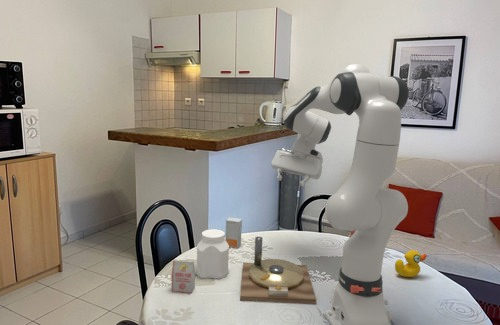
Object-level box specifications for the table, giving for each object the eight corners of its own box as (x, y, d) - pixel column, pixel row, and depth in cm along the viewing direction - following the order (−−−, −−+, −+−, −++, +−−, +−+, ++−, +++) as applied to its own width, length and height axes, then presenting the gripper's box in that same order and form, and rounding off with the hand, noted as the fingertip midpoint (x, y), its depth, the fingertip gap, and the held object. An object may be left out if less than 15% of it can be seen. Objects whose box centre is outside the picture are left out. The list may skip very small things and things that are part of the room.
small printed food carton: (174, 286, 121) (175, 258, 120) (194, 287, 121) (195, 259, 119) (171, 291, 118) (171, 262, 116) (191, 293, 117) (192, 264, 115)
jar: (194, 278, 127) (195, 237, 125) (198, 265, 137) (199, 227, 134) (227, 279, 127) (228, 239, 125) (229, 267, 137) (230, 229, 134)
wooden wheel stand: (316, 304, 114) (317, 291, 113) (240, 300, 114) (240, 287, 113) (306, 269, 137) (306, 258, 137) (242, 266, 138) (243, 255, 137)
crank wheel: (306, 291, 118) (309, 256, 116) (248, 288, 118) (249, 254, 116) (299, 265, 137) (301, 234, 135) (249, 262, 137) (250, 232, 135)
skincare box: (224, 246, 155) (225, 219, 153) (228, 242, 159) (229, 216, 157) (238, 248, 154) (239, 221, 152) (241, 245, 158) (242, 218, 156)
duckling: (419, 272, 138) (422, 247, 137) (427, 279, 133) (430, 253, 131) (391, 272, 137) (393, 248, 135) (398, 279, 132) (401, 254, 130)
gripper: (276, 143, 147) (263, 172, 142) (325, 154, 139) (313, 185, 134) (279, 151, 153) (267, 179, 148) (326, 162, 144) (315, 192, 139)
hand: (289, 182), depth 141 cm, fingers open, 8 cm apart
